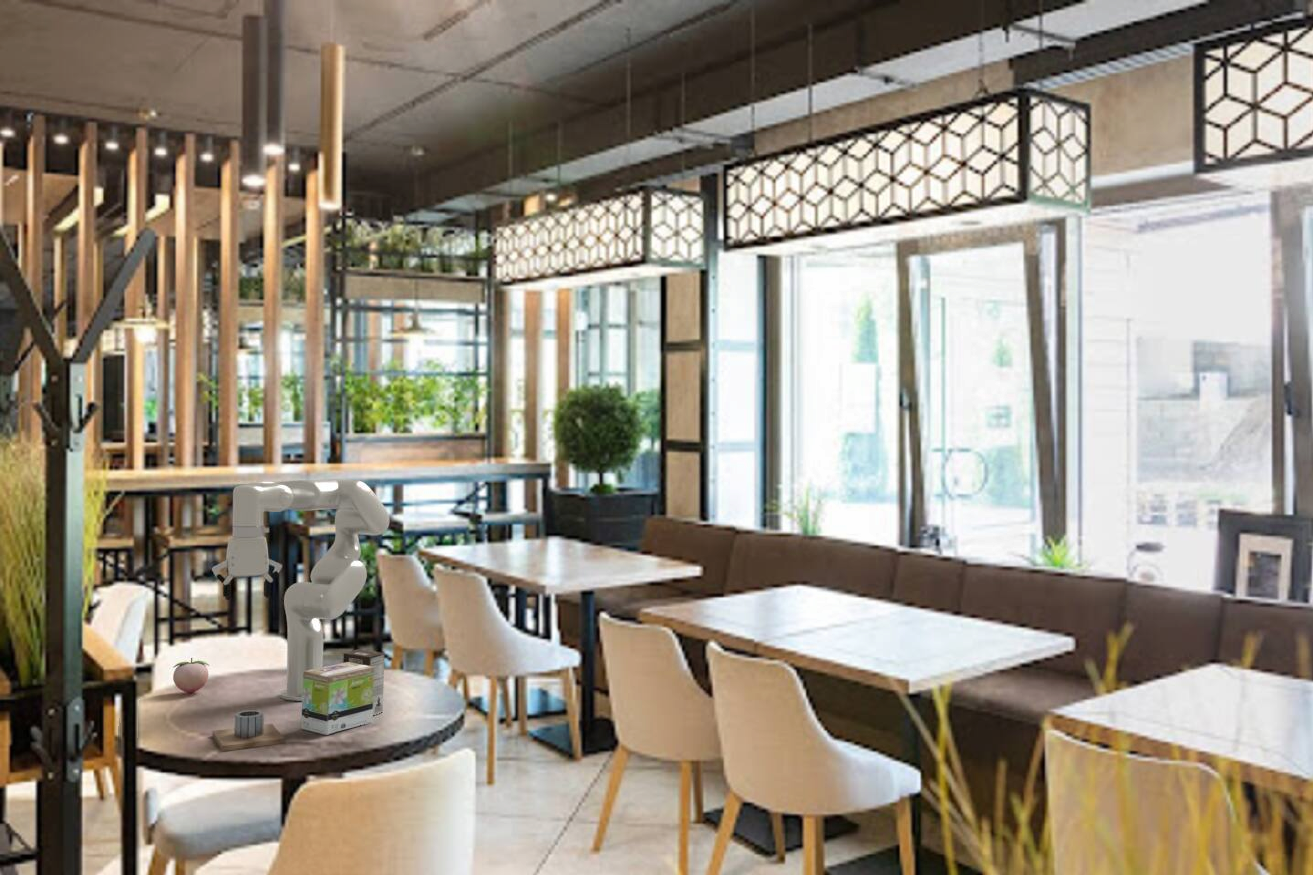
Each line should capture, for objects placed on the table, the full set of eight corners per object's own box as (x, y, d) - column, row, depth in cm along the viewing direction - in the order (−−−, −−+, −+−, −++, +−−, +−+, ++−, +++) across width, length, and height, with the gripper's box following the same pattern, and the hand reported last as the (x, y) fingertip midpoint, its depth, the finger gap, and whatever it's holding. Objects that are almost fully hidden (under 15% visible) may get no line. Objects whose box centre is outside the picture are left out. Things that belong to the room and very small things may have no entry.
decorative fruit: (178, 699, 303) (178, 662, 303) (169, 693, 310) (170, 657, 310) (213, 694, 309) (214, 658, 309) (204, 688, 316) (204, 653, 315)
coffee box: (340, 713, 292) (341, 652, 292) (357, 708, 298) (357, 648, 298) (368, 718, 288) (369, 656, 288) (384, 712, 294) (385, 652, 294)
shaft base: (271, 728, 277) (272, 710, 277) (284, 743, 265) (285, 724, 265) (212, 735, 270) (212, 717, 270) (222, 751, 258) (223, 732, 258)
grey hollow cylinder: (260, 729, 272) (260, 708, 272) (265, 735, 267) (265, 715, 267) (232, 732, 269) (232, 712, 269) (237, 739, 263) (237, 718, 263)
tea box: (328, 736, 272) (329, 676, 271) (300, 729, 277) (301, 670, 277) (374, 722, 284) (375, 665, 284) (346, 716, 290) (347, 660, 289)
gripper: (279, 530, 297) (278, 593, 297) (210, 532, 288) (209, 598, 288) (285, 532, 291) (284, 598, 291) (215, 535, 282) (214, 602, 282)
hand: (247, 598), depth 290 cm, fingers open, 9 cm apart
